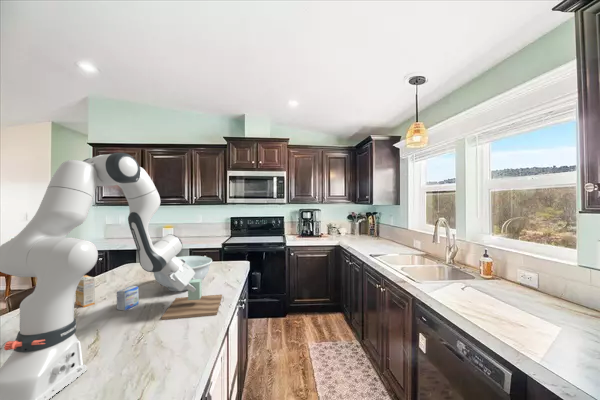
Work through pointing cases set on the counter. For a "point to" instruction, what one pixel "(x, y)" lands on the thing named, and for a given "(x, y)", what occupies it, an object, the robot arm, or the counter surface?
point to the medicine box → (127, 298)
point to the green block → (198, 292)
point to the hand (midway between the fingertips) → (196, 288)
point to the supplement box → (86, 291)
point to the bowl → (195, 262)
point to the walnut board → (193, 307)
